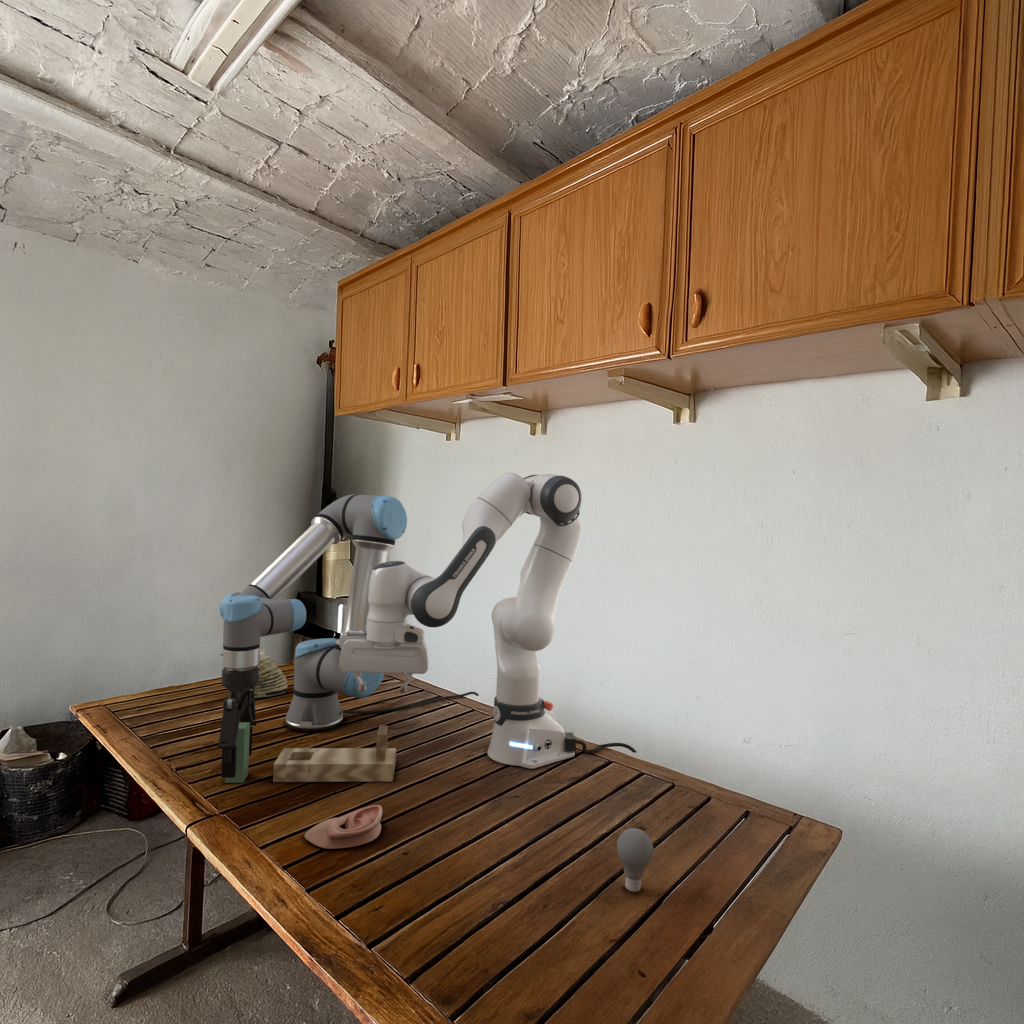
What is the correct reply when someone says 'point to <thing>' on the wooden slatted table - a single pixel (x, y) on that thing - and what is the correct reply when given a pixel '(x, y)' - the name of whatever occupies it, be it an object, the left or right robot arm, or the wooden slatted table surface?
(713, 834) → the wooden slatted table surface
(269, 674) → the fossil
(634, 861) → the light bulb
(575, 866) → the wooden slatted table surface
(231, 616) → the left robot arm
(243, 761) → the peg
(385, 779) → the peg board
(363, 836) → the anatomical model
